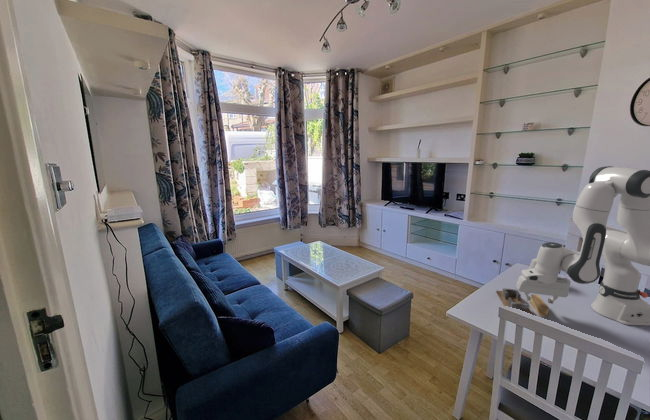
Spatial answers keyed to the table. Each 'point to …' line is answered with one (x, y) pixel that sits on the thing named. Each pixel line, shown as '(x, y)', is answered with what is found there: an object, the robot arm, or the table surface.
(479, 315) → the table surface
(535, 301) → the golden brown block
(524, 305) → the cap board
